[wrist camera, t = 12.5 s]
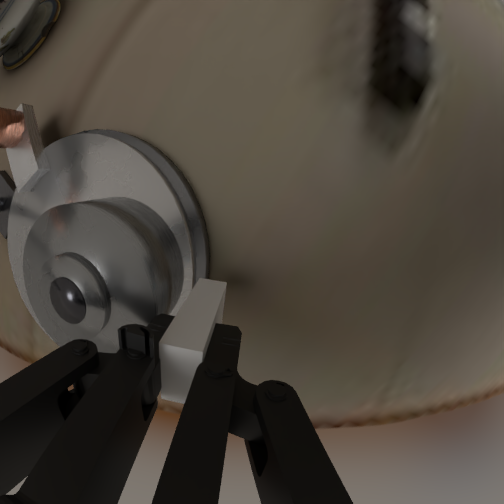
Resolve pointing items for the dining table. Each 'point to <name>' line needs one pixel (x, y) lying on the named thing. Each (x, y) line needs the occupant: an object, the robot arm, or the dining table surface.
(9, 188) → the dial gauge stand
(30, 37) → the apothecary jar
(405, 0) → the dining table surface
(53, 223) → the cover
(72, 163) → the turntable
